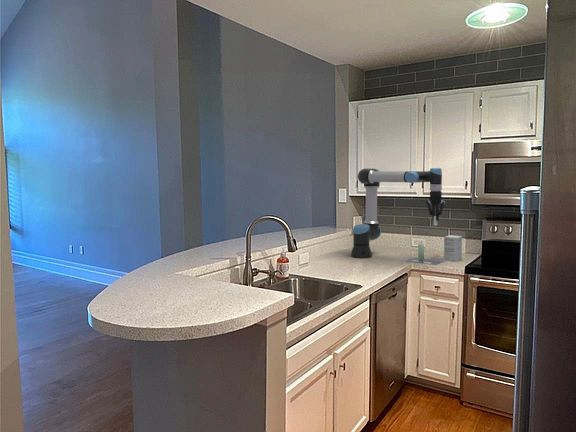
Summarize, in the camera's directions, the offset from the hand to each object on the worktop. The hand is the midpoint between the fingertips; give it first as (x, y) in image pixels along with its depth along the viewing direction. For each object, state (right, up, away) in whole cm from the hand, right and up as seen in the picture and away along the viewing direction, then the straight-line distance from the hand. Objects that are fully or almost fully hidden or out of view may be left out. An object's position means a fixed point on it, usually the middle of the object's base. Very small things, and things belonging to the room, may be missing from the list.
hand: (435, 225), depth 285 cm
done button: (0, -24, -3) cm, 24 cm away
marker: (-10, -24, -2) cm, 26 cm away
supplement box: (+13, -24, +2) cm, 27 cm away
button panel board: (-8, -25, -1) cm, 26 cm away
